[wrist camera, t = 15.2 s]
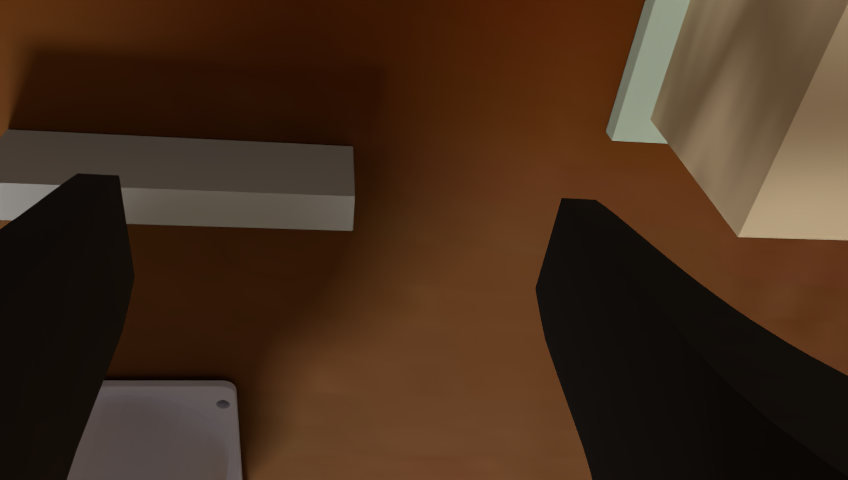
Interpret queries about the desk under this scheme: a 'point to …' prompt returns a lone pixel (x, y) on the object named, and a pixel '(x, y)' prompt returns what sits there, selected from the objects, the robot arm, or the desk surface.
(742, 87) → the block
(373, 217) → the desk surface
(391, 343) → the desk surface
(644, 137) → the mat
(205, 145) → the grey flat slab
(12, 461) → the robot arm
